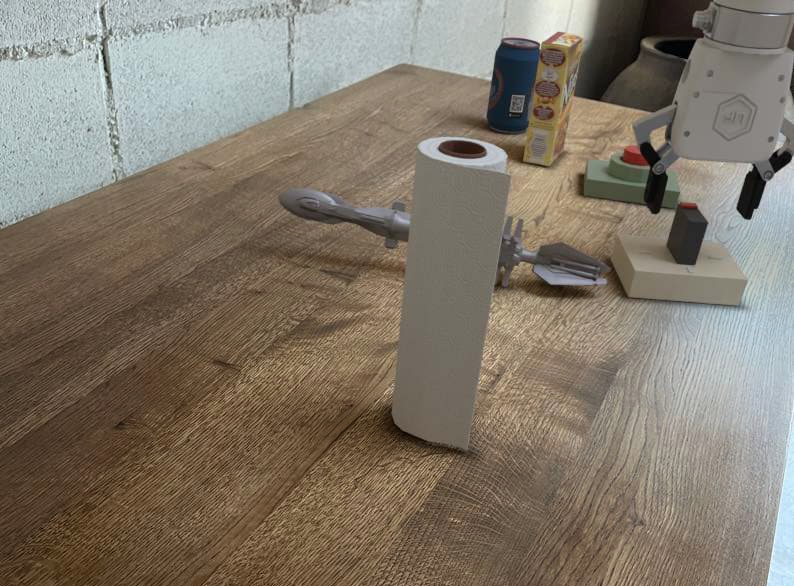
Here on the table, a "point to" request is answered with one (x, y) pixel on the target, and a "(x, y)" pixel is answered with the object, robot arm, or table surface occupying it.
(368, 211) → the spaceship
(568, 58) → the candy box
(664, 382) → the table surface
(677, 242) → the hob knob
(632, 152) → the red push button
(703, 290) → the panel
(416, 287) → the paper towel roll
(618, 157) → the switch box
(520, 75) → the soda can
